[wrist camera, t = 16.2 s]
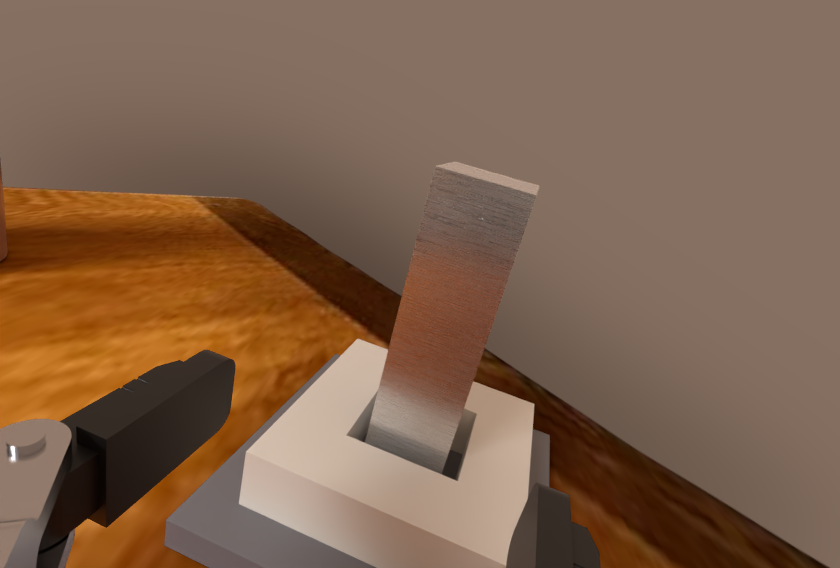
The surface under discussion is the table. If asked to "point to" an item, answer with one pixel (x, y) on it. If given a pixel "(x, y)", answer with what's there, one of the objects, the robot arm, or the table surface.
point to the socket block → (364, 484)
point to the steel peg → (447, 309)
